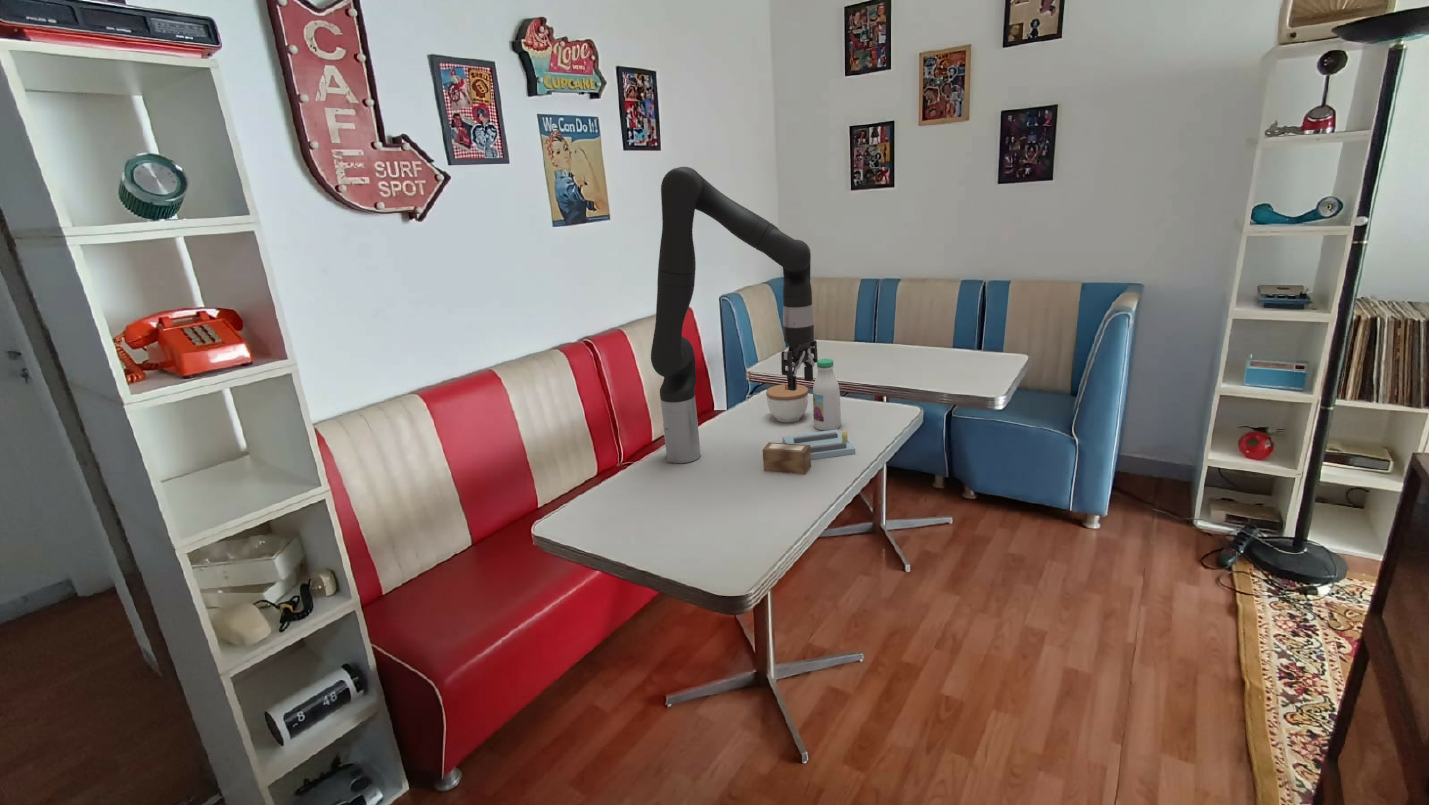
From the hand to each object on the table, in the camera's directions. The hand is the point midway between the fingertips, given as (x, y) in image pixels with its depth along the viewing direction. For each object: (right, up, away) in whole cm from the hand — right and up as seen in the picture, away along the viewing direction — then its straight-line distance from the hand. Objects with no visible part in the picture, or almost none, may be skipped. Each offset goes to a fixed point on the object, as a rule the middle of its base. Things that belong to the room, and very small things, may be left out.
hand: (800, 385), depth 177 cm
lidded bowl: (+1, -9, +35) cm, 36 cm away
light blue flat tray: (+6, -17, +11) cm, 21 cm away
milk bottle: (+11, -12, +25) cm, 30 cm away
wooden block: (-3, -21, -1) cm, 22 cm away
